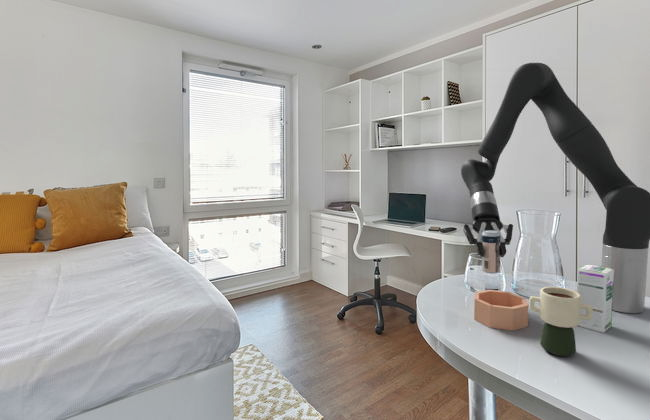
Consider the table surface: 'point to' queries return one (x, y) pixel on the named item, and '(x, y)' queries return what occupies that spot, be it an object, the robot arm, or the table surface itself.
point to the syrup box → (596, 296)
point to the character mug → (559, 318)
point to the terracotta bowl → (501, 310)
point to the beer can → (491, 251)
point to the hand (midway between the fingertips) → (492, 255)
